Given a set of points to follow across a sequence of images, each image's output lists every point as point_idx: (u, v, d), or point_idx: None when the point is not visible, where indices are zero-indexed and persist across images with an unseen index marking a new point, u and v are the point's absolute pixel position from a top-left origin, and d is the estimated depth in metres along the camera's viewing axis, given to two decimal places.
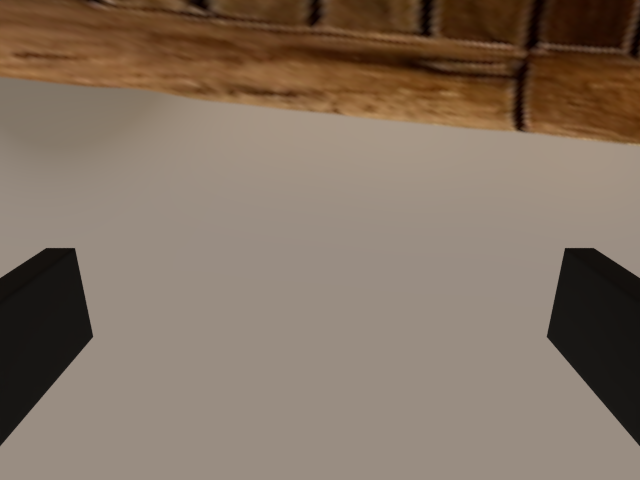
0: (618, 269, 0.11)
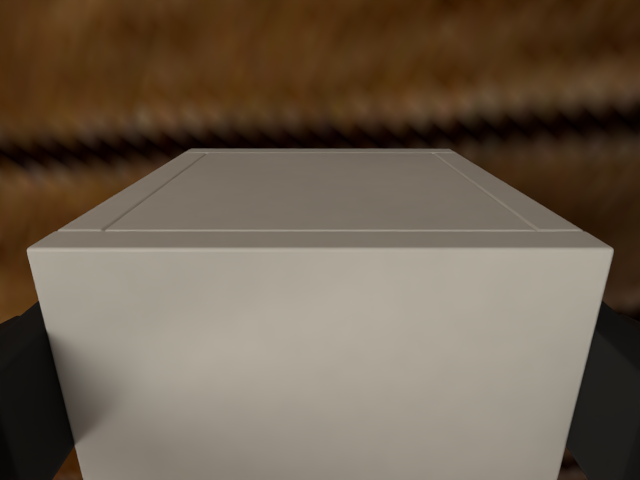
0: None
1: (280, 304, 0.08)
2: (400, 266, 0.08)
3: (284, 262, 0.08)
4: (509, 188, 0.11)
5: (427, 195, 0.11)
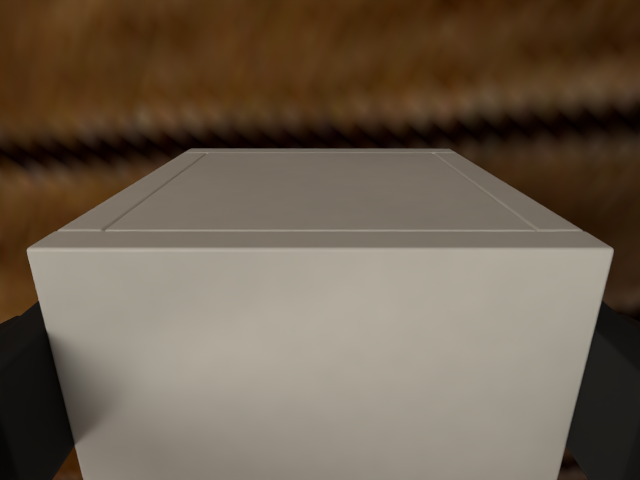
0: None
1: (280, 304, 0.08)
2: (400, 266, 0.08)
3: (283, 262, 0.08)
4: (509, 188, 0.11)
5: (427, 195, 0.11)
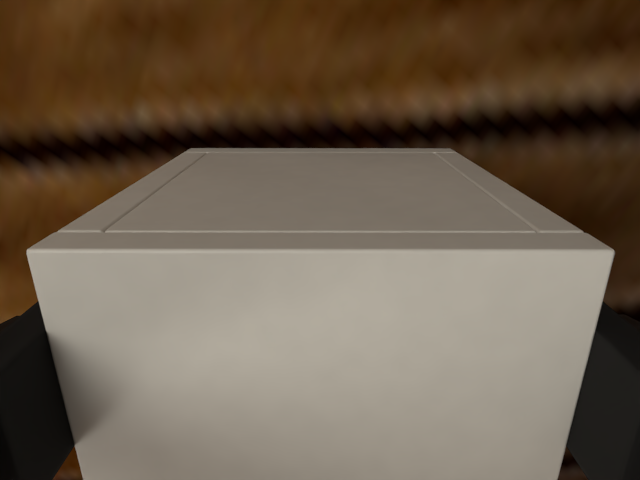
0: None
1: (280, 306, 0.08)
2: (400, 268, 0.08)
3: (284, 263, 0.08)
4: (510, 188, 0.11)
5: (428, 195, 0.11)
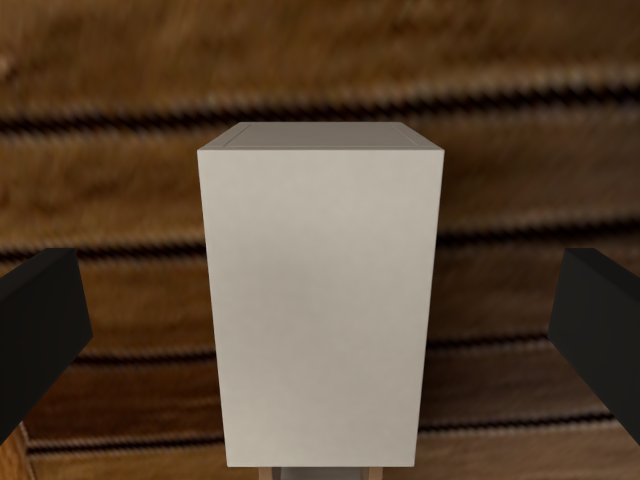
0: (618, 269, 0.11)
1: (303, 176, 0.18)
2: (354, 158, 0.18)
3: (305, 156, 0.18)
4: (419, 135, 0.22)
5: (375, 137, 0.21)
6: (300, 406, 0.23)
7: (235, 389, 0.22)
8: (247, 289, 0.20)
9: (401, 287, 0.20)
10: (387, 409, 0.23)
